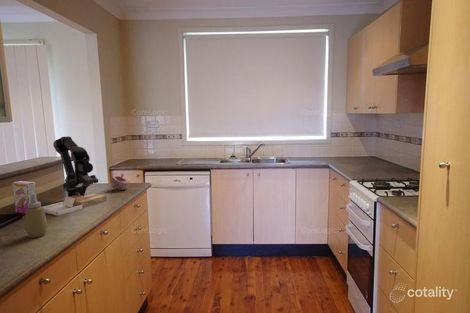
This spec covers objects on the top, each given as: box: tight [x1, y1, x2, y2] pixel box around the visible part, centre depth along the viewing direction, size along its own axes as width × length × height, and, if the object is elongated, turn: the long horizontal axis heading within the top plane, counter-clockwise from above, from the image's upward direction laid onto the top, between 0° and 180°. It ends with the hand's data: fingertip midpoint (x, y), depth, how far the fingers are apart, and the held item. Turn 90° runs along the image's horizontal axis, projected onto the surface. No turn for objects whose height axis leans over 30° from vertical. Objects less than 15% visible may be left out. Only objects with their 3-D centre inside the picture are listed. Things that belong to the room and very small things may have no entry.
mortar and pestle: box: [110, 173, 130, 191], centre depth 211 cm, size 12×12×11 cm
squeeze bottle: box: [24, 194, 48, 239], centre depth 131 cm, size 8×8×18 cm
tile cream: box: [62, 196, 75, 207], centre depth 171 cm, size 5×5×2 cm
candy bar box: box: [11, 180, 38, 214], centre depth 163 cm, size 11×5×16 cm, turn 71°
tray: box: [42, 201, 83, 217], centre depth 168 cm, size 16×14×2 cm
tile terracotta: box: [70, 194, 84, 202], centre depth 175 cm, size 5×5×2 cm
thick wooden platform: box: [73, 193, 107, 209], centre depth 181 cm, size 14×16×3 cm
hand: (82, 197), depth 178 cm, fingers closed
